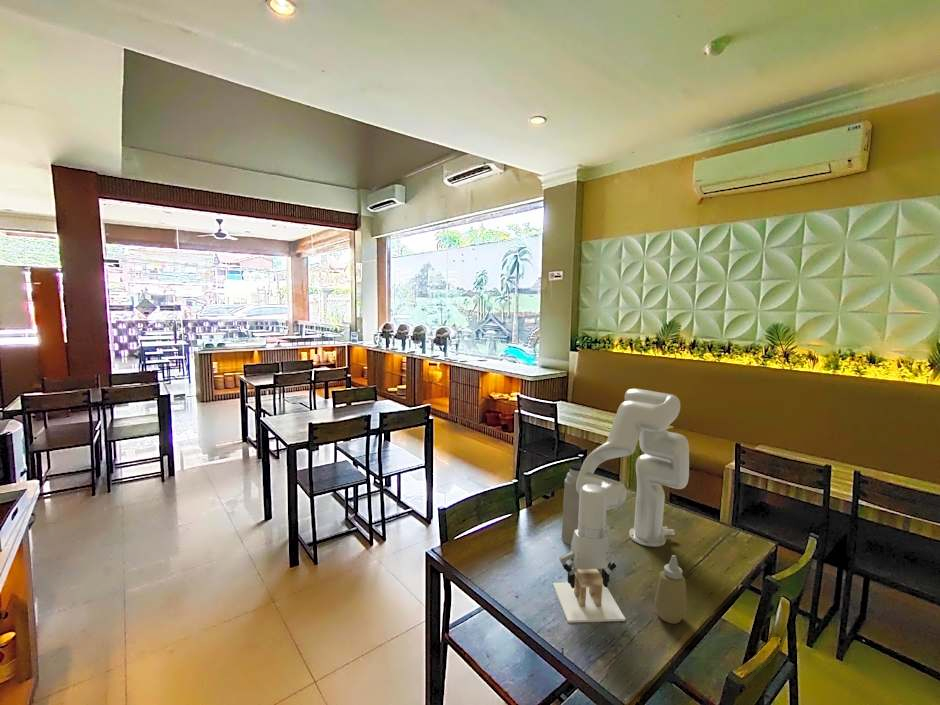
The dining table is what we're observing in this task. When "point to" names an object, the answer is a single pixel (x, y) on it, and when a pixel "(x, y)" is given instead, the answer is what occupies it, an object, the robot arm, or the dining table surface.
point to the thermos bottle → (570, 504)
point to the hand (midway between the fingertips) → (587, 584)
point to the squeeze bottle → (671, 593)
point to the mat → (587, 605)
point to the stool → (588, 585)
